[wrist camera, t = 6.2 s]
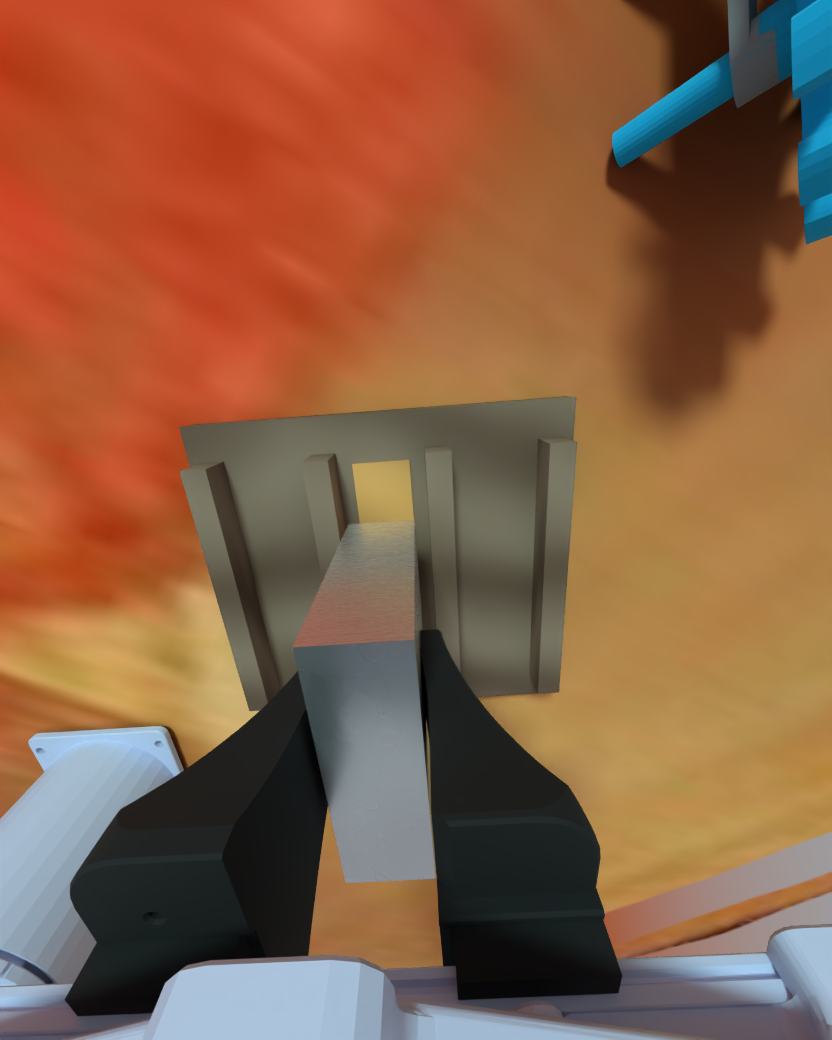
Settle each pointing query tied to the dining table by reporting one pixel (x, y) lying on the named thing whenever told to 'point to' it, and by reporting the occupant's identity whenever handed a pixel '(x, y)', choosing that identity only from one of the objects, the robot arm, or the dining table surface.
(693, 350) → the dining table surface
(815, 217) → the gear
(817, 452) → the dining table surface
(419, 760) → the panel
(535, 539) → the slot rack
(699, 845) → the dining table surface
